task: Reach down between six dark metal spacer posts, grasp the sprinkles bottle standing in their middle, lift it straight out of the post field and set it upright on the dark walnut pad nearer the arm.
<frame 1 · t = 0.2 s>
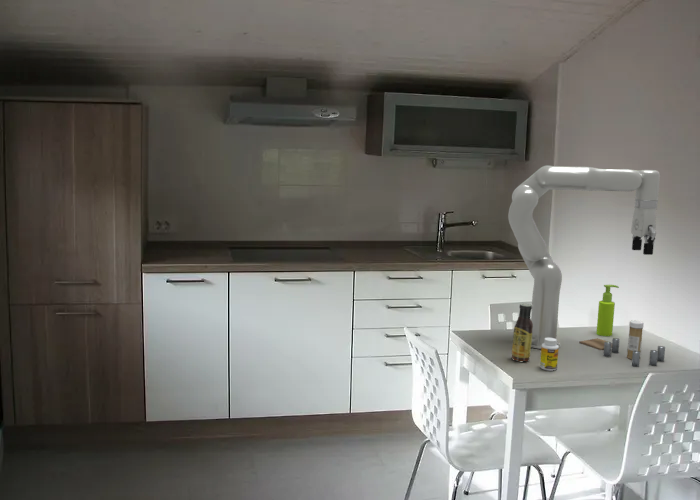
hand: (642, 252, 252), 36 cm above the table, tool pointing down, fingers open, 9 cm apart
soap dispenser: (605, 334, 277), on the table
sauce bottle: (520, 360, 242), on the table
sprinkles bottle: (633, 358, 247), on the table
walnut pad: (599, 344, 263), on the table
supplement bottle: (548, 369, 234), on the table
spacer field: (633, 358, 247), on the table
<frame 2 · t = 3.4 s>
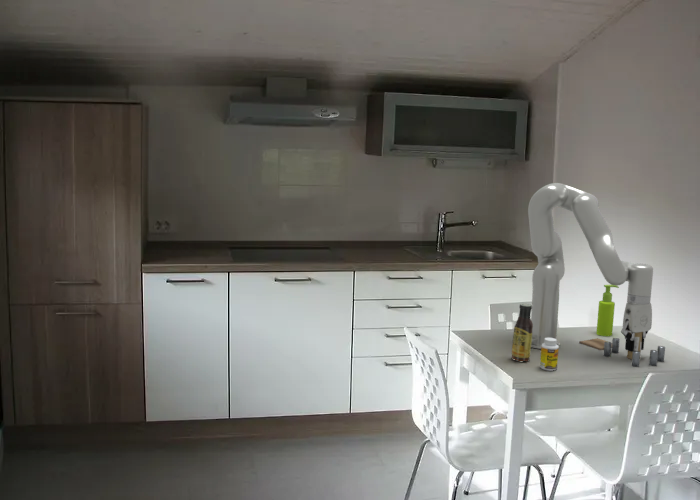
hand: (634, 349, 247), 3 cm above the table, tool pointing down, fingers closed on sprinkles bottle, 4 cm apart
sprinkles bottle: (633, 358, 247), on the table, touching gripper
everything else where it was.
when the fingers open (5 cm above the table, at t = 10.6 s): sprinkles bottle drops 1 cm, resting on walnut pad.
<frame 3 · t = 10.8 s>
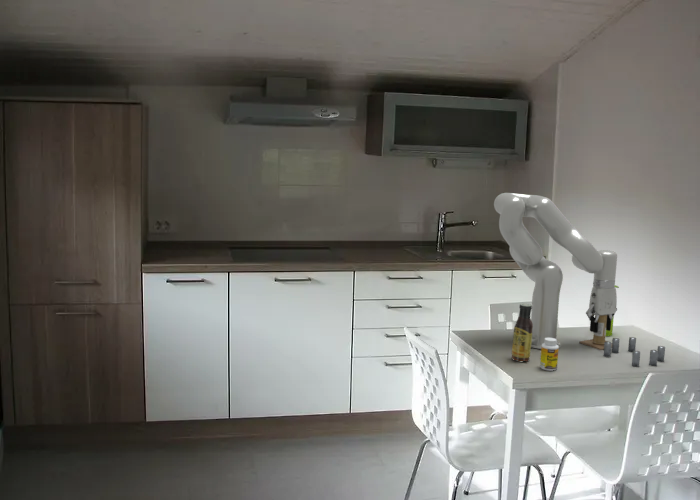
hand: (600, 330, 262), 6 cm above the table, tool pointing down, fingers open, 6 cm apart
sprinkles bottle: (598, 343, 263), resting on walnut pad
everything else where it was.
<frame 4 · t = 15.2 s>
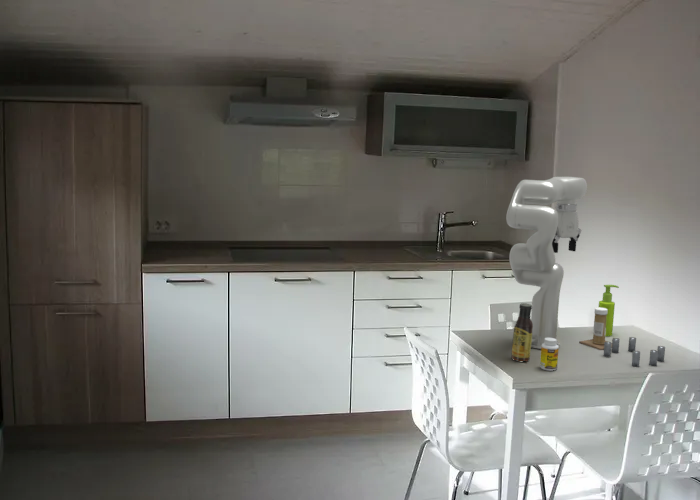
hand: (563, 251, 276), 32 cm above the table, tool pointing down, fingers open, 9 cm apart
nothing on the table moved.
at the end: sprinkles bottle inside the target area on the walnut pad (0.2 cm from its centre), point 0.4 cm above the walnut pad's base; sprinkles bottle tilted 0°; the gripper is holding nothing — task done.
